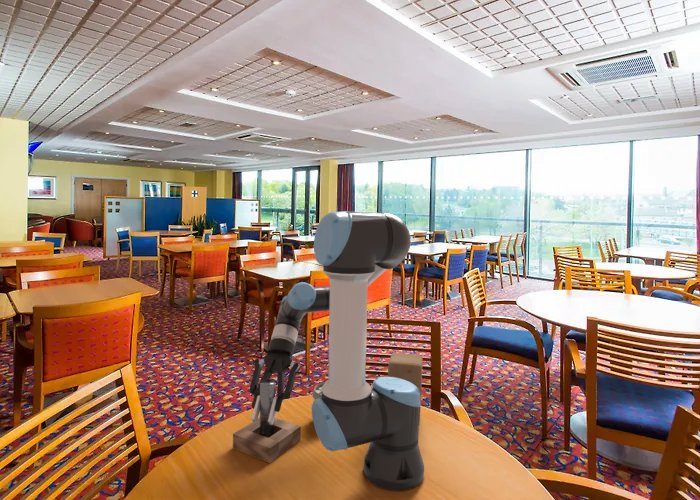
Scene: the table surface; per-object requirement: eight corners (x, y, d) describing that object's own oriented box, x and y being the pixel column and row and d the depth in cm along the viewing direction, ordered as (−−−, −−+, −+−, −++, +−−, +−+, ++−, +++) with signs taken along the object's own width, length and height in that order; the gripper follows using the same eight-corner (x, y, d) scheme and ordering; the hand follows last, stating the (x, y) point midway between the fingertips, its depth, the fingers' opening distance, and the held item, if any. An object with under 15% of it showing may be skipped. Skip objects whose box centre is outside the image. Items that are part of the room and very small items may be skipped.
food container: (316, 408, 138) (317, 379, 137) (335, 410, 137) (335, 380, 136) (307, 427, 126) (308, 395, 125) (328, 429, 125) (328, 397, 124)
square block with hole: (300, 439, 119) (300, 426, 119) (270, 463, 108) (270, 448, 108) (264, 427, 126) (265, 414, 125) (233, 447, 114) (232, 433, 114)
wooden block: (419, 430, 126) (421, 365, 124) (385, 425, 128) (388, 362, 126) (420, 414, 136) (422, 354, 134) (389, 410, 138) (391, 351, 136)
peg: (277, 430, 118) (277, 381, 116) (267, 436, 114) (268, 387, 113) (266, 426, 120) (266, 378, 118) (256, 432, 116) (256, 383, 115)
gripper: (312, 350, 129) (295, 430, 114) (259, 346, 131) (236, 423, 117) (307, 339, 123) (289, 421, 108) (252, 334, 126) (227, 414, 111)
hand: (262, 421), depth 113 cm, fingers closed on peg, 4 cm apart
